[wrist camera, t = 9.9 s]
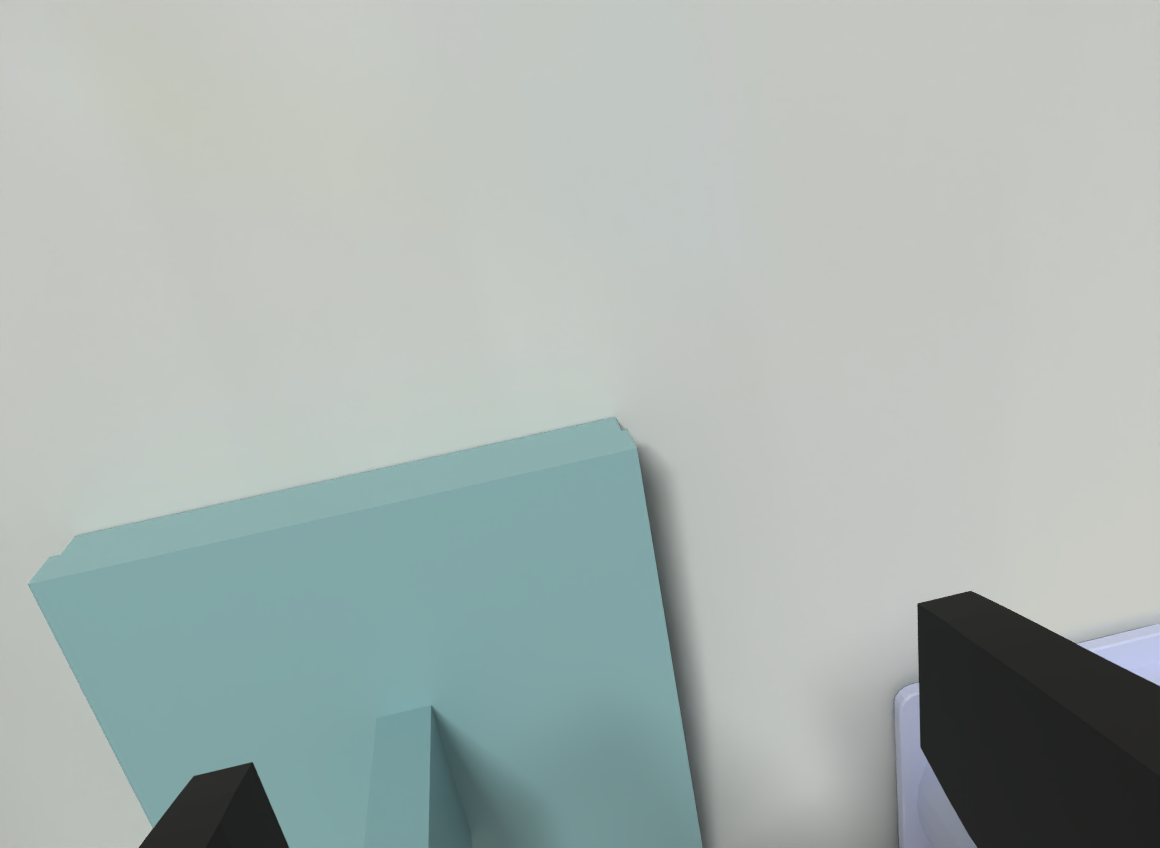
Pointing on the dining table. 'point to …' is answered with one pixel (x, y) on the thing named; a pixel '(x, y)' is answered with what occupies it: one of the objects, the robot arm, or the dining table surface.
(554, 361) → the dining table surface
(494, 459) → the lid
